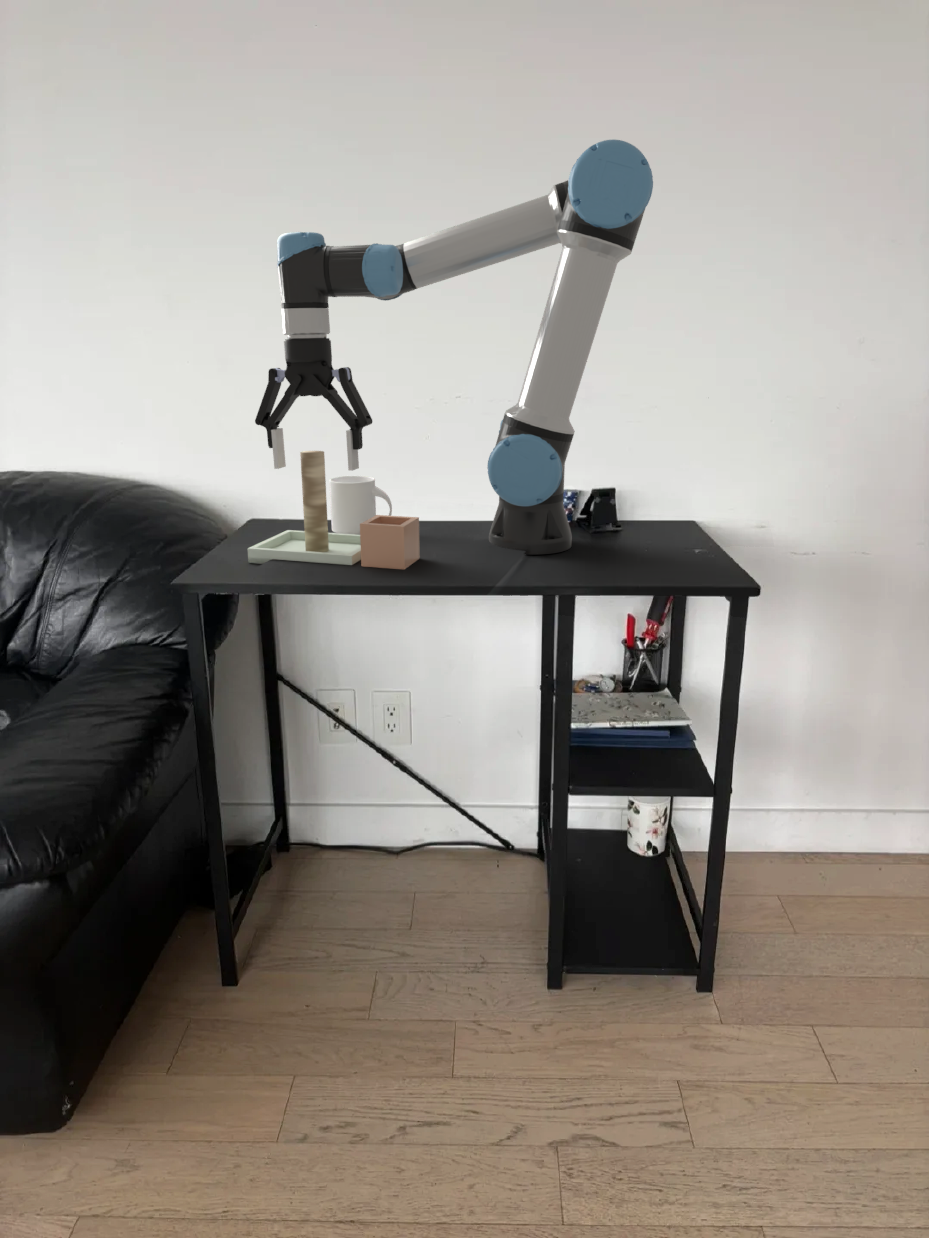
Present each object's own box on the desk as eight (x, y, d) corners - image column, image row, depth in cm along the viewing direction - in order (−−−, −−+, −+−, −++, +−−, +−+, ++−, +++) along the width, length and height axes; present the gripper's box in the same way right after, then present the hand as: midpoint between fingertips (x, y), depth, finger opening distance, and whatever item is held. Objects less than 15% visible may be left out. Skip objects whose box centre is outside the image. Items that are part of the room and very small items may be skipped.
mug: (385, 541, 164) (384, 484, 161) (325, 538, 167) (322, 482, 164) (398, 531, 172) (397, 477, 169) (341, 528, 175) (338, 475, 171)
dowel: (332, 548, 154) (328, 451, 149) (322, 553, 151) (318, 453, 146) (311, 547, 155) (306, 450, 150) (301, 552, 152) (296, 453, 147)
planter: (419, 563, 148) (418, 517, 146) (404, 575, 141) (403, 526, 139) (378, 560, 150) (376, 514, 148) (361, 571, 143) (359, 523, 141)
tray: (384, 549, 158) (384, 536, 157) (352, 570, 144) (351, 556, 143) (288, 543, 163) (287, 530, 162) (248, 562, 149) (247, 548, 148)
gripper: (387, 335, 142) (393, 466, 149) (249, 338, 149) (260, 463, 155) (370, 335, 135) (377, 473, 142) (226, 338, 142) (239, 470, 148)
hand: (316, 468), depth 149 cm, fingers open, 13 cm apart
